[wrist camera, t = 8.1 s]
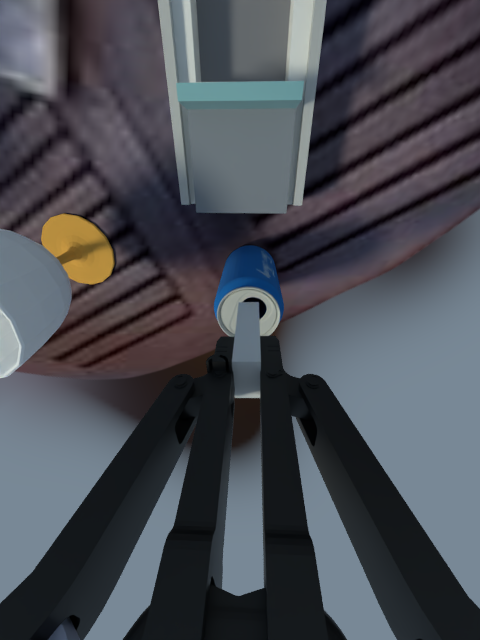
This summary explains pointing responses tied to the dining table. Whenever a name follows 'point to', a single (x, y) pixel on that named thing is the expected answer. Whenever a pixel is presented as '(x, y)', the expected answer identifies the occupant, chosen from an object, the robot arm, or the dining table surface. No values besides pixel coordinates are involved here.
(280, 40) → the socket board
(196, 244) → the dining table surface
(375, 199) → the dining table surface
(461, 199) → the dining table surface
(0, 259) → the cup
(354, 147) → the dining table surface
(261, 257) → the beverage can
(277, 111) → the shutter
